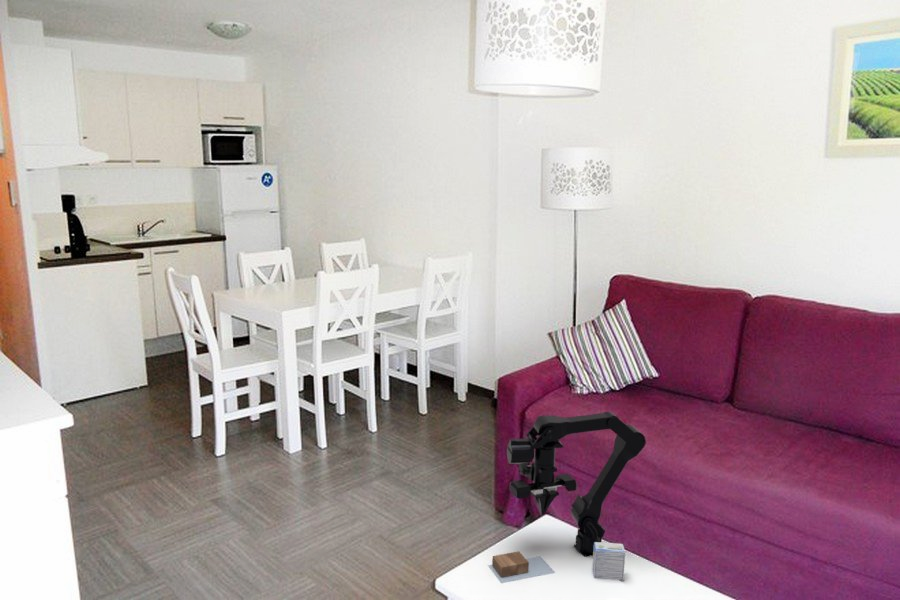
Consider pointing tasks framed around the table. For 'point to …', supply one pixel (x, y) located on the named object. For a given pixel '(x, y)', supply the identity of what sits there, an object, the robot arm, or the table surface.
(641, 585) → the table surface
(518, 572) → the walnut tile
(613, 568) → the medicine box
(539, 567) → the mat
